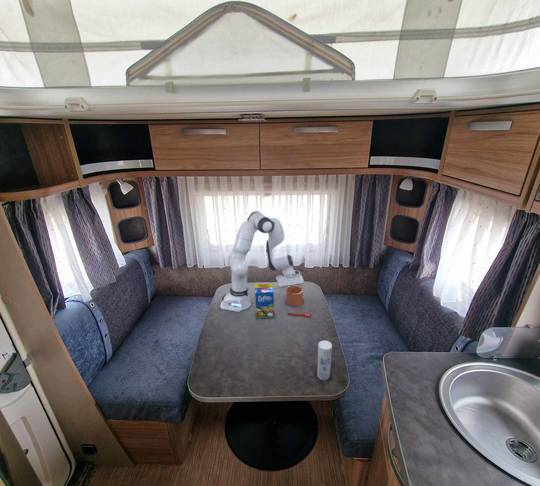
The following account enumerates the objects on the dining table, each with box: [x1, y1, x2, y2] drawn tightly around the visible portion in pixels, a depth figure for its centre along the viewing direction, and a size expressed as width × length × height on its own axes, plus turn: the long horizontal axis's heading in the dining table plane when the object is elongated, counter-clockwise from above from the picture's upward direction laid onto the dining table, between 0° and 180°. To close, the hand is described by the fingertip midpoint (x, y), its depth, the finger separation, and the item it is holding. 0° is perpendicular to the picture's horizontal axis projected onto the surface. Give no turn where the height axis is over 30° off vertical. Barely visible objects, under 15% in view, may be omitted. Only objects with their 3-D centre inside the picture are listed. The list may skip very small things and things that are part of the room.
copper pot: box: [285, 285, 304, 307], centre depth 208 cm, size 12×12×10 cm
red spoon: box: [287, 312, 311, 318], centre depth 194 cm, size 15×4×1 cm, turn 81°
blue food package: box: [254, 283, 275, 319], centre depth 190 cm, size 6×12×25 cm, turn 92°
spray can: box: [316, 339, 333, 381], centre depth 141 cm, size 6×6×20 cm
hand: (292, 291), depth 215 cm, fingers closed, pressing on copper pot
